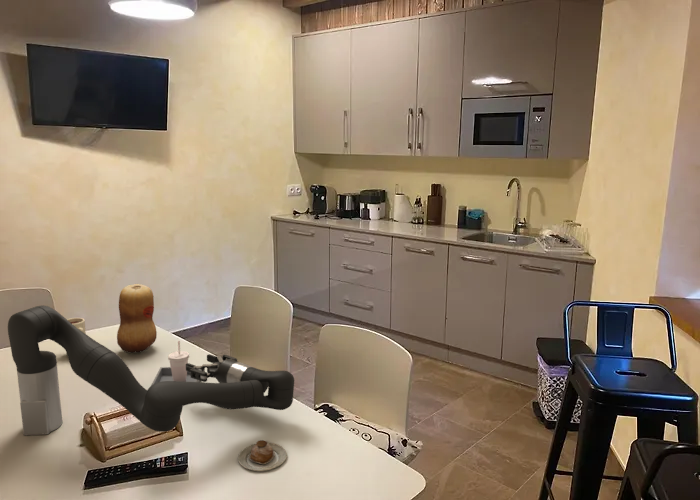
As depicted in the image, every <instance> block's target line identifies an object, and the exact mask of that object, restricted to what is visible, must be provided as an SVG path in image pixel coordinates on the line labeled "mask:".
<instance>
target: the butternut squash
mask: <svg viewBox="0 0 700 500" xmlns="http://www.w3.org/2000/svg"><path fill="white" fill-rule="evenodd" d="M154 298H155V297H154V293H153V290H152V289H151V288H150V286H147V285H145V284H141V283H135V284H129V285H126V286H124V287H123V288H122V289H121V291H120V293H119V298H118V312H119V321H120V323H119V327H118V329H117V332H116V340H117V341H116V342H117V345H118V347H119V348H120V349H121V350H122V351H124V352H126V353H130V354H131V353H136V354H137V353H144V352H145V351H146V350H148V349H149V348H150V347H151V346H152V345H154V343H155V341H157V335H158V334H157V333H158V332H157V327H156V324H155V322H154V320H153V315H154V311H155V304H154Z"/></svg>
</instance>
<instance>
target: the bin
mask: <svg viewBox="0 0 700 500" xmlns="http://www.w3.org/2000/svg"><path fill="white" fill-rule="evenodd" d="M198 370H200V371H202V370H201V369H198ZM162 381H173V377H172V371H171V366H168V367H167V366H163V367H162V366H161V367H160V368H159V369H158V372H157V374H156V376H155V377H154V379H153V381H152V383H151V384H150V386H152V385H153V384H155V383H158V382H162ZM186 382H201V381H200V380H197V379H193V378H191V372H189V371H187V377H186Z"/></svg>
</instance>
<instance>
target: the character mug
mask: <svg viewBox="0 0 700 500" xmlns="http://www.w3.org/2000/svg"><path fill="white" fill-rule="evenodd" d="M66 319H67V320H68V321H69V322H70V323H71V324H73V325H74V326H75V327H76V328H78V329H79V330H80V331H82V332H83V333H85V334H86V332H87V331H86V323H85V322H86V320H85V318H82V317H71V318H66ZM86 335H87V334H86Z"/></svg>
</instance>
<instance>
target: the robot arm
mask: <svg viewBox="0 0 700 500" xmlns="http://www.w3.org/2000/svg"><path fill="white" fill-rule="evenodd" d="M67 319H68V318H65V317H64V316H63V315H62V314H61V313H60V312H58V311H57V310H55V309H54V308H53V307H50V306H48V305H37V306H34V307H33V306H32V307H30V308H28V309H24V310H22V311H19V312H15V313H14V314H12V315H11V316H10V317H9V319H8V321H7V335H8V340H9V345H10V351H11V357H12V359H13V360H12V361H13V362H14V364H15V366H16V372H17V383H18V393H19V400H20V402H19V404H20V413H21V421H22V422H21V423H22V430H23V436H35V435H49V434H50V433H51V432H53V431H56V430H57V429H58V428H59V427H61V426H62V424H63V414H62V404H61V403H62V402H61V393H60V384H59V383H60V381H59V372H58V371H59V370H58V361H57V354H56V353H54V352H52V351H49V350H40V346H39V344H40V343H42V342H44V341H47V340H50V341H53V342H54V343H56V344H57V345H59V346H61V347H62V348H63V349H64V350H65V353H66V356H67V359H68V362H69V365H70V367H71V370H72V372H73V373H74V374H75V375H76V376H78V377H79V378H80V379H82V380H84V381H85V382H86V383H88V384H90V385H91V386H92V387H95V388H96V389H97V390H99V391H100V392H102V393H103V394H105V395H106V396H107V397H109V398H110V399H112V400H114V401H115V402H116V403H118V404H119V405H120V406H122V407H123V408H124V409H125V410H127V411H128V413H130V414H131V415H132V416H133V417H135V418H136V419H137V420H138V421H139V422H140V423H142V424H143V425H144V426H146V428H148V429H150V430H152V431H155V432H159V433H160V432H161V433H162V432H163V433H166V432H170V431H172V430H173V429H175V428H176V427H177V426H178V424H179V421H180V418H181V415H182V411H183V407H184V406H188V405H192V404H208V405H212V406H215V407H218V408H220V409H223V410H230V411H231V410H242V409H248V408H249V409H250V408H264V409H272V410H278V411H284V410H287V409H289V407H291V406H292V405H293V401H294V393H295V391H294V390H295V378H294V377H295V376H294V375H293V374H292V373H291V372H290V371H288V370H264V369H259V368H257V367H253V366H251V365H249V364H246V363H243V362H241V361H238V358H237V357H233V356H231V355H228V354H222V356H221V355H217V356H216V355H213V354H210V353H208V354H206V360H207V362H209V363H208V364H207V363H205V364H204V363H203V364H202V365H196V364H192V363H190V362H188V363H187V364H186V371H189V372H191V378H193V379H197V380H200V382H184V381H162V382H158V383H155V384H153V385H152V384H151V385H152V386H151V385H150V387H149V388H148V389H146V388H145V387H144V386H142V384H140V382H139V380H137V379H136V377H135V375H134V374H133V372H132V371H131V369H130V368H129V366H128V365H127V364H126V362H125V361H124V359H123V358H122V357H121V356H119V354H117V353H116V352H115V351H113V350H111V349H109V348H108V347H106V346H105V345H103V344H101V342H98V341H96V340H95V339H93V338H92V337H91V336H89V335H88V334H85V333H83V332H82V331H80V330H79V329H78V328H76V327H75V326H74V325H73V324H71V323H70V322H69V321H68V320H67ZM198 369H201V370H202V371H200V370H198ZM210 378H213V379H216V381H217V382H208V379H210ZM266 391H267V395H265V393H266Z"/></svg>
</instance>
